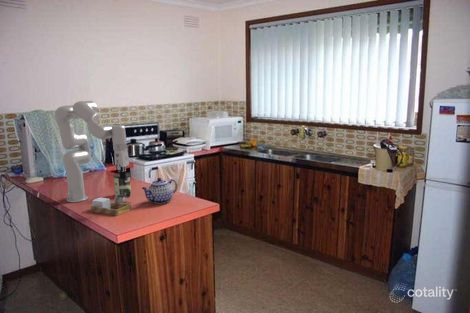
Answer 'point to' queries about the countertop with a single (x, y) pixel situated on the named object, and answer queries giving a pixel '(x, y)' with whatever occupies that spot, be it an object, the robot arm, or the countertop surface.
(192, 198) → the countertop surface
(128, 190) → the crank
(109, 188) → the countertop surface
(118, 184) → the coffee can
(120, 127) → the robot arm
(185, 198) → the countertop surface
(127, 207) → the bay
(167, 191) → the teapot
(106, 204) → the white rectangular block
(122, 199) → the winch
